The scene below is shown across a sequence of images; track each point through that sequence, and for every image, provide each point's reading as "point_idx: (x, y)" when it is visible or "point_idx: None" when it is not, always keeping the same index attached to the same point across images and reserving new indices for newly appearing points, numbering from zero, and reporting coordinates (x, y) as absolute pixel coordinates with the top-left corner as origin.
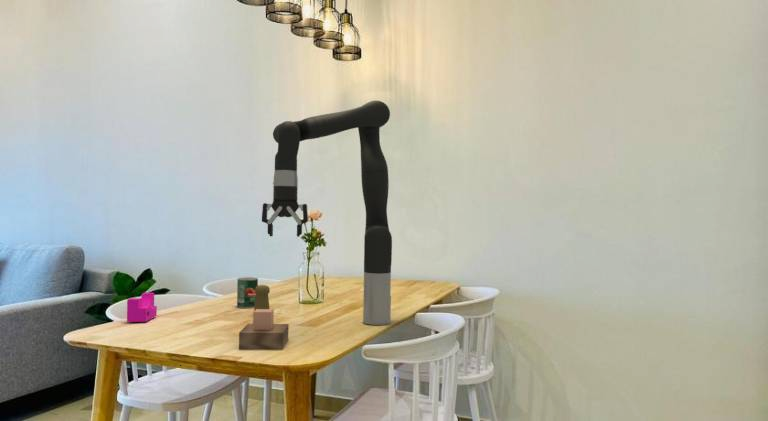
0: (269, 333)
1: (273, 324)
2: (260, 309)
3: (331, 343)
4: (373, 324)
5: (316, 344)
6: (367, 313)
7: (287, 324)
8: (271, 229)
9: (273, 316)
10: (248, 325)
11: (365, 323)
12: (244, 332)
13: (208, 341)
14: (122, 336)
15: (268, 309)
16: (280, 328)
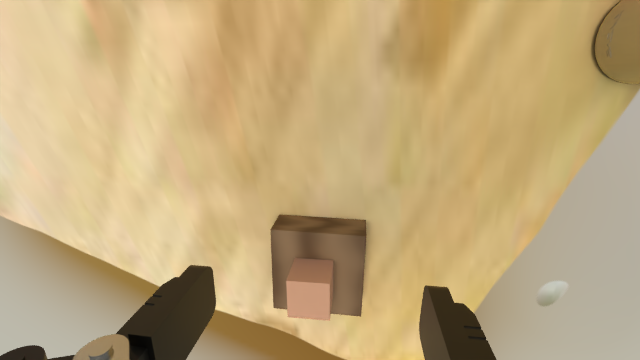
0: (333, 312)
1: (330, 239)
2: (297, 286)
3: (460, 256)
4: (620, 81)
5: (427, 262)
6: (628, 70)
7: (364, 241)
8: (185, 354)
9: (331, 273)
10: (276, 247)
11: (598, 63)
12: (283, 308)
13: (209, 229)
14: (36, 184)
15: (317, 287)
16: (351, 279)
